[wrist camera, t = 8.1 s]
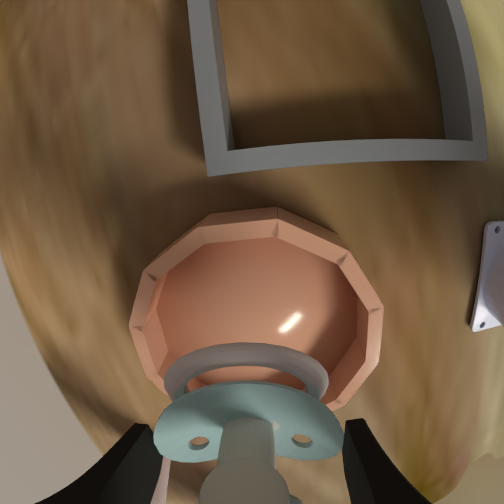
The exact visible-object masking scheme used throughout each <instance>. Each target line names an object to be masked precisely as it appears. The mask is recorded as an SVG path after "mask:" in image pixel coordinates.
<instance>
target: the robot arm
mask: <svg viewBox="0 0 504 504" xmlns="http://www.w3.org/2000/svg"><path fill="white" fill-rule="evenodd" d="M496 227H497V230H496V232H495V228H496ZM481 323H482V324H481ZM480 324H481V325H480ZM499 325H503V326H504V221H491V222H488V223H487V224H486V225H485V228H484V237H483V248H482V257H481V265H480V273H479V280H478V286H477V292H476V298H475V303H474V309H473V314H472V318H471V323H470V329H471V330H472V331H473V332H477V331H481V330H485V329H488V328H492V327H496V326H499ZM153 436H154V435H153V433H152V431H151V429H150V427H149V425H147V424H138V423H135V424H134V425H133V426H132V427H131V428H130V429H129V430H128V431H127V432H126V433H125V434H124V435H123V436H122V437H121V438H120V439H119V441H118V442H117V443H116V444H115V445H114V446H113V447H112V448H111V449H110V450H109V451H108V452H107V453H106V454H105V455H104V456H103V457H102V458H101V459H100V460H99V461H98V462H97V463H96V464H95V465H94V466H92V467H91V468H90V469H89V470H88V471H87V472H85V473H84V474H83V475H82V476H81V477H79V478H78V479H77V480H75V481H74V482H73V483H71V484H70V485H68V486H67V487H65V488H64V489H62V490H60V491H59V492H57V493H55V494H53V495H52V496H50V497H48V498H46V499H44V500H42V501H40V502H38V503H35V504H151V501H152V498H153V495H154V492H155V489H156V486H157V483H158V480H159V476H160V472H161V467H162V461H163V455H161V454H160V453H159V451H158V449H157V447H156V445H155V444H154V438H153ZM342 455H343V464H344V473H345V478H346V482H347V487H348V491H349V495H350V500H351V504H432V503H431V502H429V501H428V500H427V499H426V498H425V497H424V496H423V495H421V494H420V493H419V492H418V491H417V490H416V489H415V488H414V487H413V486H412V485H411V484H410V483H409V481H408V480H407V479H406V478H405V477H404V476H403V475H402V474H401V472H400V471H399V470H398V469H397V468H396V466H395V465H394V464H393V463H392V461H391V460H390V459H389V457H388V456H387V455H386V453H385V452H384V450H383V449H382V448H381V446H380V445H379V443H378V442H377V440H376V438H375V437H374V435H373V434H372V432H371V430H370V429H369V427H368V425H367V423H366V421H365V420H364V419H363V418H360V419H353V420H347V421H346V424H345V433H344V441H343V448H342Z"/></svg>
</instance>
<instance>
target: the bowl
mask: <svg viewBox="0 0 504 504" xmlns="http://www.w3.org/2000/svg"><path fill="white" fill-rule="evenodd" d="M383 309H384V307H383V305H382V303H381V301H380V300H379V298H378V296H377V295H376V293H375V291H374V290H373V288H372V286H371V285H370V283H369V281H368V280H367V278H366V276H365V275H364V273H363V272H362V270H361V268H360V267H359V265H358V264H357V262H356V260H355V259H354V257H353V256H352V254H351V253H350V251H349V250H348V248H347V247H346V245H345V244H344V243H343V241H342V240H341V238H340V237H339V236H338V234H336V233H334V232H332V231H330V230H328V229H326V228H324V227H321V226H319V225H317V224H315V223H313V222H311V221H308V220H306V219H304V218H302V217H300V216H297V215H295V214H293V213H291V212H288V211H286V210H284V209H282V208H279V207H277V206H276V207H266V208H257V209H247V210H238V211H229V212H221V213H212V214H209V215H207V216H206V217H205V218H204V219H202V220H201V221H200V222H198V223H197V224H196V225H194V226H193V227H192V228H191V229H189V230H188V231H187V232H186V233H184V234H183V235H182V236H180V237H179V238H178V239H177V240H175V241H174V242H173V243H172V244H170V245H169V246H168V247H167V248H165V249H164V250H163V251H162V252H161V253H160V254H159V255H158V256H157V257H156V258H155V259H154V260H153V261H152V262H151V263H150V264H149V265H148V266H147V267H146V268H145V269H144V270H143V273H142V276H141V280H140V283H139V287H138V291H137V294H136V298H135V302H134V305H133V309H132V313H131V317H130V321H129V329H130V332H131V335H132V338H133V341H134V344H135V347H136V350H137V352H138V355H139V358H140V361H141V363H142V366H143V369H144V371H145V374H146V376H147V377H148V378H149V379H150V380H151V381H152V382H153V383H154V384H155V385H156V386H157V387H158V388H159V389H160V390H161V391H163V392H164V393H165V394H166V395H167V396H168V397H169V395H168V393H167V392H166V390H165V388H164V375H165V373H166V371H167V369H168V367H169V366H170V365H172V364H173V363H174V362H175V361H176V360H177V359H179V358H180V357H182V356H184V355H186V354H188V353H190V352H193V351H195V350H197V349H201V348H205V347H209V346H213V345H217V344H227V343H237V342H248V343H267V344H273V345H279V346H285V347H288V348H291V349H294V350H297V351H300V352H303V353H305V354H307V355H308V356H310V357H312V358H313V359H315V360H317V361H318V362H319V363H320V364H321V365H322V366H323V368H324V369H325V370H326V371H327V374H328V380H329V384H328V387H327V390H326V393H325V395H324V396H323V397H322V398H321V399H320V400H319V401H321V402H322V403H324V404H325V405H326V406H327V407H328V408H329V409H330V410H331V411H334V410H336V409H338V408H340V407H342V406H344V405H345V404H346V403H347V402H348V400H349V399H350V398H351V397H352V396H353V394H354V393H355V392H356V391H357V389H358V388H359V387H360V386H361V384H362V383H363V382H364V381H365V379H366V378H367V377H368V375H369V374H370V373H371V372H372V370H373V369H374V368H375V366H376V365H377V364H378V361H379V353H380V344H381V334H382V322H383ZM240 380H253V381H265V382H272V383H278V384H282V385H286V386H289V387H292V388H295V389H298V390H301V391H303V390H304V387H305V384H304V383H303V382H302V381H301V380H300V379H299V378H297V377H295V376H293V375H292V374H290V373H287V372H284V371H280V370H277V369H273V368H266V367H260V366H232V367H223V368H219V369H214V370H210V371H207V372H204V373H202V374H199V375H197V376H195V377H194V378H193V379H191V380H190V381H188V383H187V387H188V389H189V391H193V390H195V389H198V388H200V387H204V386H207V385H211V384H216V383H220V382H227V381H240ZM169 398H170V397H169ZM172 401H173V400H172Z"/></svg>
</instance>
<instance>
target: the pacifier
mask: <svg viewBox="0 0 504 504" xmlns="http://www.w3.org/2000/svg"><path fill="white" fill-rule="evenodd" d="M232 366H260V367H266V368H273V369H277V370H280V371H284V372H287V373H290V374H292V375H293V376H295V377H297V378H299V379H300V380H301V381H302V382H303V383H304V384H305V387H304V390H303V391H301V390H298V389H295V388H292V387H289V386H286V385H282V384H278V383H272V382H265V381H253V380H240V381H227V382H220V383H216V384H211V385H207V386H204V387H200V388H198V389H195V390H193V391H189V389H188V387H187V383H188V381H190V380H191V379H193V378H194V377H195V376H197V375H199V374H202V373H204V372H207V371H210V370H214V369H219V368H223V367H232ZM328 384H329V380H328V374H327V371H326V370H325V369H324V368H323V366H322V365H321V364H320V363H319V362H318V361H317V360H315V359H313V358H312V357H310V356H308V355H307V354H305V353H303V352H300V351H297V350H294V349H291V348H288V347H285V346H279V345H273V344H267V343H248V342H237V343H227V344H217V345H213V346H209V347H205V348H201V349H197V350H195V351H193V352H190V353H188V354H186V355H184V356H182V357H180V358H179V359H177V360H176V361H175V362H174V363H173V364H172V365H170V366H169V367H168V369H167V371H166V373H165V375H164V388H165V390H166V392H167V393H168V395H169V397H170V399H171V400H173V402H172V403H171V404H170V405H169V406H168V407H166V408H165V409H164V411H163V412H162V414H161V415H160V417H159V419H158V422H157V424H156V427H155V430H154V436H153V438H154V444H155V445H156V447H157V449H158V451H159V453H160V454H161V455H163V456H164V457H166V458H168V459H170V460H173V461H178V462H203V461H209V460H214V459H217V467H216V468H215V469H213V470H212V471H211V472H210V473H209V475H208V476H207V477H206V479H205V480H204V482H203V484H202V486H201V489H200V493H199V504H289V501H290V497H289V490H288V487H287V484H286V482H285V480H284V479H283V477H282V476H281V474H280V473H279V472H278V471H277V470H276V455H279V456H282V457H287V458H293V459H300V460H322V459H326V458H331V457H333V456H335V455H337V454H338V453H339V452H340V451H341V449H342V448H343V441H344V435H343V430H342V428H341V426H340V423H339V421H338V420H337V418H336V417H335V415H334V414H333V412H332V411H331V410H330V409H329V408H328V407H327V406H326V405H325V404H324V403H322V402H321V401H319V400H320V399H321V398H322V397H323V396H324V395H325V393H326V390H327V387H328ZM296 434H302V435H305V436H307V437H309V438H310V439H311V440H312V441H310V442H308V443H301V442H298V441H296V440H294V439H293V438H292V437H293V436H294V435H296ZM199 436H202V437H206V438H207V439H208V440H209V441H208V442H207V443H205V444H202V445H193V444H191V443H190V442H189V441H190V440H191V439H193V438H195V437H199Z"/></svg>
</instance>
